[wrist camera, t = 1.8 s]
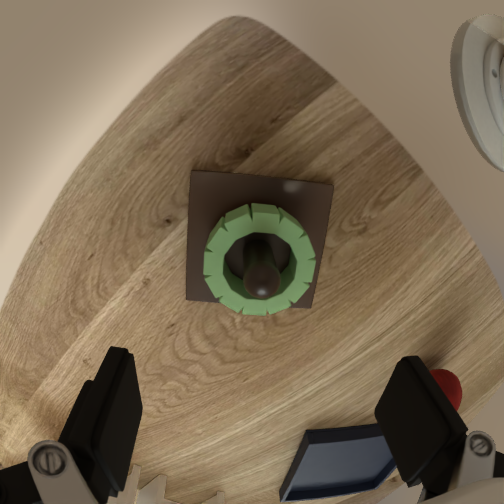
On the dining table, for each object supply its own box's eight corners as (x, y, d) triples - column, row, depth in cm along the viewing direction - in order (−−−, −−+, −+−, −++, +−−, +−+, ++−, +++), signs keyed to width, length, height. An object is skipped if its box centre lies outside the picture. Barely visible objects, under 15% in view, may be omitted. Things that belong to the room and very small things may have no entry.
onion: (400, 398, 31) (425, 447, 23) (402, 366, 29) (433, 419, 21) (440, 380, 30) (469, 424, 23) (446, 347, 28) (481, 393, 21)
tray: (423, 415, 33) (429, 426, 31) (373, 479, 40) (377, 489, 38) (306, 430, 32) (309, 444, 29) (278, 491, 38) (280, 502, 36)
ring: (314, 209, 20) (323, 219, 18) (298, 300, 22) (304, 317, 20) (210, 199, 20) (206, 208, 17) (205, 293, 22) (201, 311, 20)
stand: (332, 184, 21) (371, 206, 15) (309, 305, 25) (331, 361, 18) (191, 169, 21) (170, 185, 14) (186, 297, 24) (171, 353, 18)
